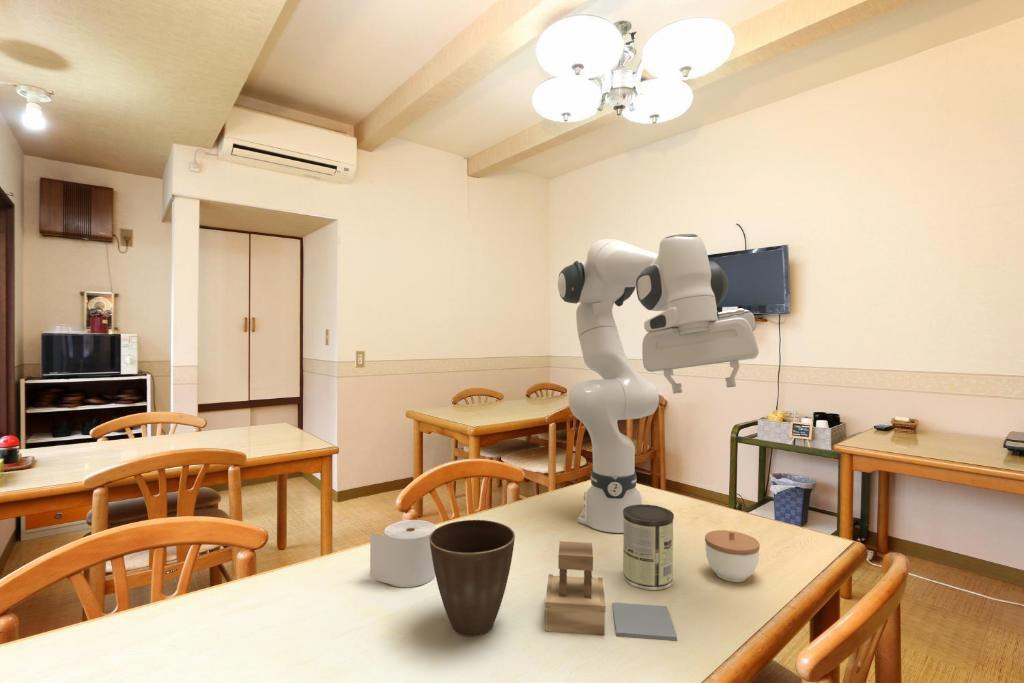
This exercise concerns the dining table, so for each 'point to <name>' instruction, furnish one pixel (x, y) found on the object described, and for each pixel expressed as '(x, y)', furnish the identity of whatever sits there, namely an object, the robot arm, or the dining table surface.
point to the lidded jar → (732, 554)
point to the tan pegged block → (575, 564)
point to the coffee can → (648, 547)
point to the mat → (643, 621)
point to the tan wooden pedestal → (575, 607)
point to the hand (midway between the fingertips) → (704, 390)
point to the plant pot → (472, 571)
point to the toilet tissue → (402, 554)
